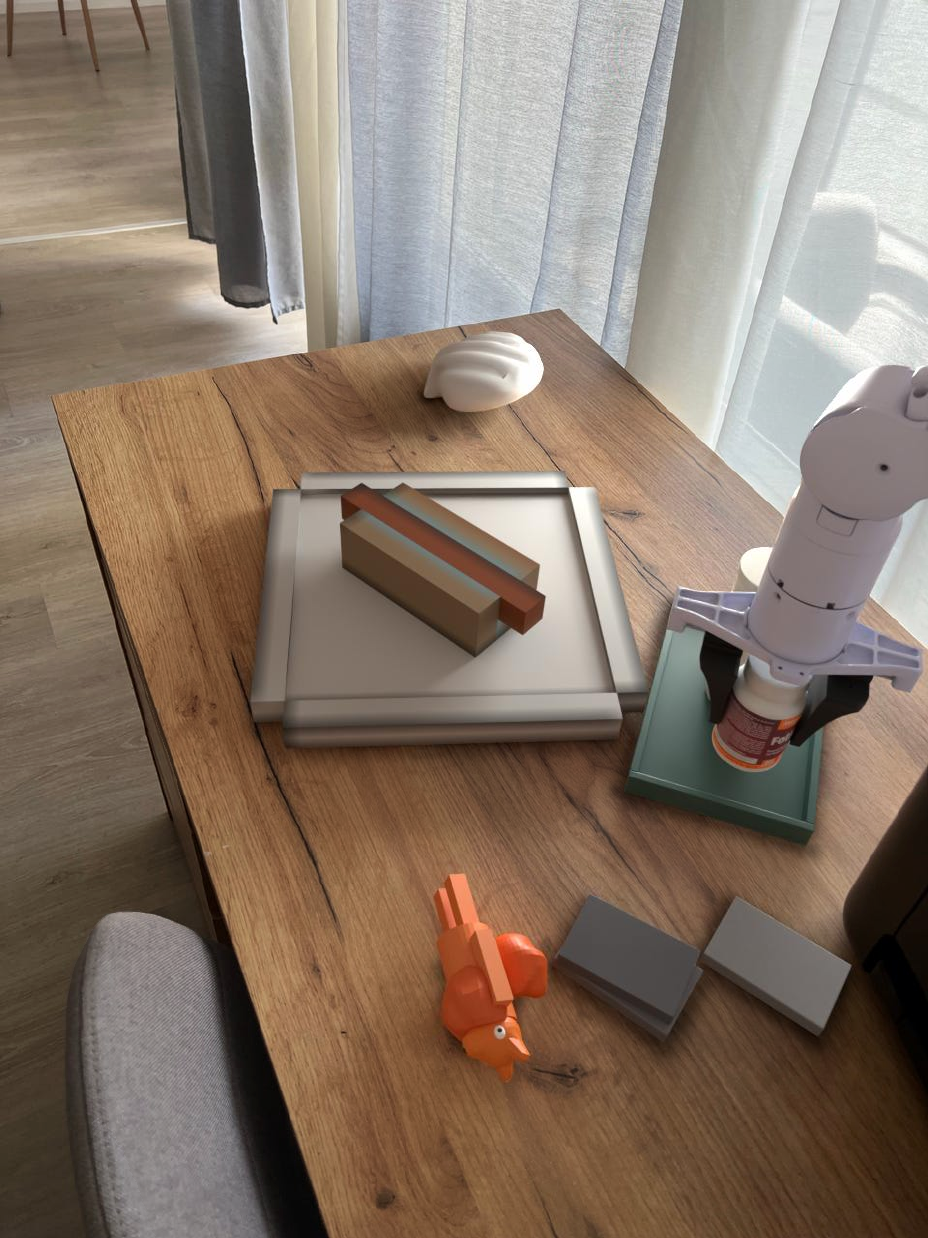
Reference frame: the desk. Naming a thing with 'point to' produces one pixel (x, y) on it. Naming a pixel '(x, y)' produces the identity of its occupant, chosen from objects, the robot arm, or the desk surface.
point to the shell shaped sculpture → (484, 372)
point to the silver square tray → (442, 612)
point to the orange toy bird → (484, 979)
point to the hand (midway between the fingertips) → (754, 723)
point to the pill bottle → (758, 718)
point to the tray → (715, 756)
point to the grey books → (666, 972)
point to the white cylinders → (749, 580)
